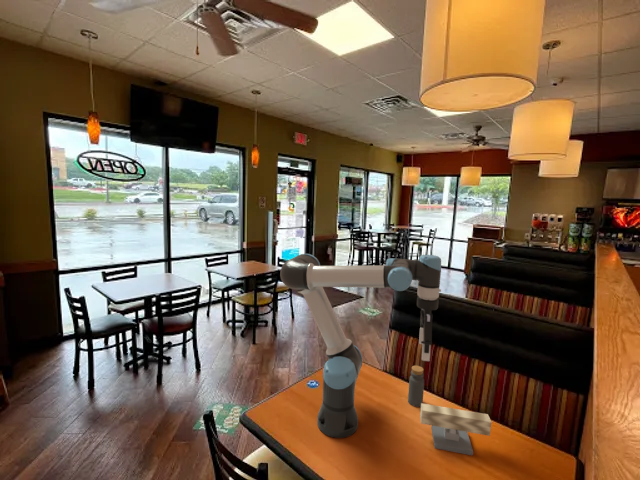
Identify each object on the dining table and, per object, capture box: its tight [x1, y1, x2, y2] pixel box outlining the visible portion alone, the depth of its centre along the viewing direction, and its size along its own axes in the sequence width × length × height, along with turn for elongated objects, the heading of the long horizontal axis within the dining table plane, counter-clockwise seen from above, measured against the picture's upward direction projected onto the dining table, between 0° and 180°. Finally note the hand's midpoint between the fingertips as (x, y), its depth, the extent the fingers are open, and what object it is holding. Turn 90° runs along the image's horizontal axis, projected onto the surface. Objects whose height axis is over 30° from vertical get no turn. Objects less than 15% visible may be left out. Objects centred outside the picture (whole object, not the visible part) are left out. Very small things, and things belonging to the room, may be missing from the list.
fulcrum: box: [431, 425, 474, 456], centre depth 111 cm, size 12×10×6 cm
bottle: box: [407, 365, 425, 408], centre depth 131 cm, size 6×6×15 cm
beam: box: [419, 403, 492, 437], centre depth 110 cm, size 22×4×5 cm, turn 77°
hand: (423, 351), depth 119 cm, fingers open, 13 cm apart
